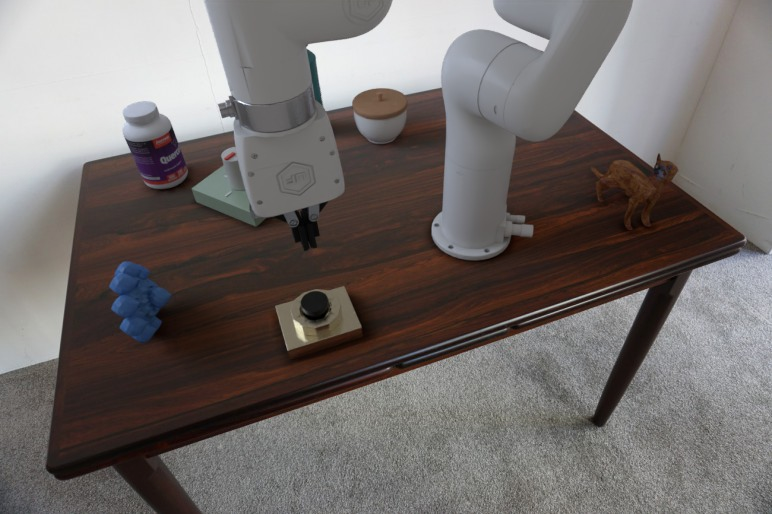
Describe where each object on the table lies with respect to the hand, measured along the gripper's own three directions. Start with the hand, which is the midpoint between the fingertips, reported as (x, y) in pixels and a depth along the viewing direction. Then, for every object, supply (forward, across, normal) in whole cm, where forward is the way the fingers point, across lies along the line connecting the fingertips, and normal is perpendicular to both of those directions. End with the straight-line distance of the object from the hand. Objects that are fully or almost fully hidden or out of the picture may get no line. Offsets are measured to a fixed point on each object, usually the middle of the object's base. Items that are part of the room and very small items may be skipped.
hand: (307, 241), depth 63 cm
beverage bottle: (+15, +11, +49) cm, 52 cm away
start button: (+11, -1, -1) cm, 11 cm away
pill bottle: (+14, -18, +43) cm, 49 cm away
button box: (+14, -1, -1) cm, 15 cm away
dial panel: (+15, -5, +32) cm, 35 cm away
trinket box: (+16, +24, +41) cm, 50 cm away
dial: (+12, -5, +32) cm, 34 cm away
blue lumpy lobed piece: (+14, -22, +7) cm, 27 cm away
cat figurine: (+16, +53, +5) cm, 55 cm away
